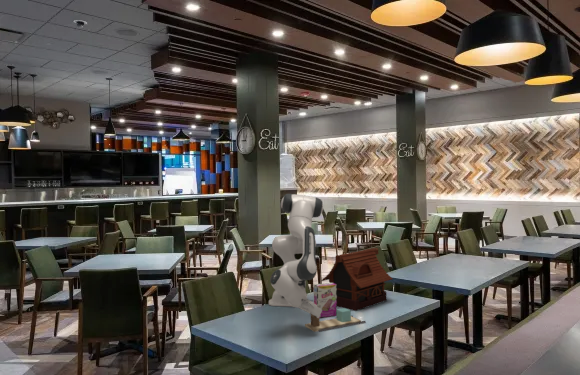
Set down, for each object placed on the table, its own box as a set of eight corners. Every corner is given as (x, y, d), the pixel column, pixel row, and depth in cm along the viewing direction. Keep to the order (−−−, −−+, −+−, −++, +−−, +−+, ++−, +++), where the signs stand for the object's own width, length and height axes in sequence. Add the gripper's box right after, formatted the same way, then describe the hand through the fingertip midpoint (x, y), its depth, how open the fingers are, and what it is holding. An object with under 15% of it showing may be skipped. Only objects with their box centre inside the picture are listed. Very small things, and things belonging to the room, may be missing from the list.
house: (359, 313, 235) (358, 257, 235) (319, 304, 256) (318, 252, 256) (397, 300, 259) (396, 250, 259) (357, 292, 280) (356, 246, 280)
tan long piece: (314, 331, 207) (314, 309, 207) (305, 326, 215) (304, 305, 215) (361, 322, 219) (360, 301, 219) (350, 318, 227) (349, 297, 227)
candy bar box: (317, 318, 227) (317, 286, 227) (313, 316, 232) (312, 284, 232) (337, 316, 231) (336, 284, 231) (333, 313, 236) (332, 282, 236)
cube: (342, 322, 216) (342, 312, 216) (336, 319, 221) (336, 309, 221) (350, 320, 219) (350, 310, 219) (345, 318, 223) (344, 308, 223)
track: (319, 331, 207) (319, 330, 207) (307, 325, 217) (307, 323, 217) (365, 322, 219) (365, 321, 219) (352, 317, 229) (352, 315, 229)
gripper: (312, 296, 200) (331, 315, 205) (291, 287, 218) (309, 305, 223) (304, 308, 198) (323, 326, 203) (283, 298, 216) (301, 315, 221)
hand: (316, 315), depth 213 cm, fingers closed on tan long piece, 3 cm apart
